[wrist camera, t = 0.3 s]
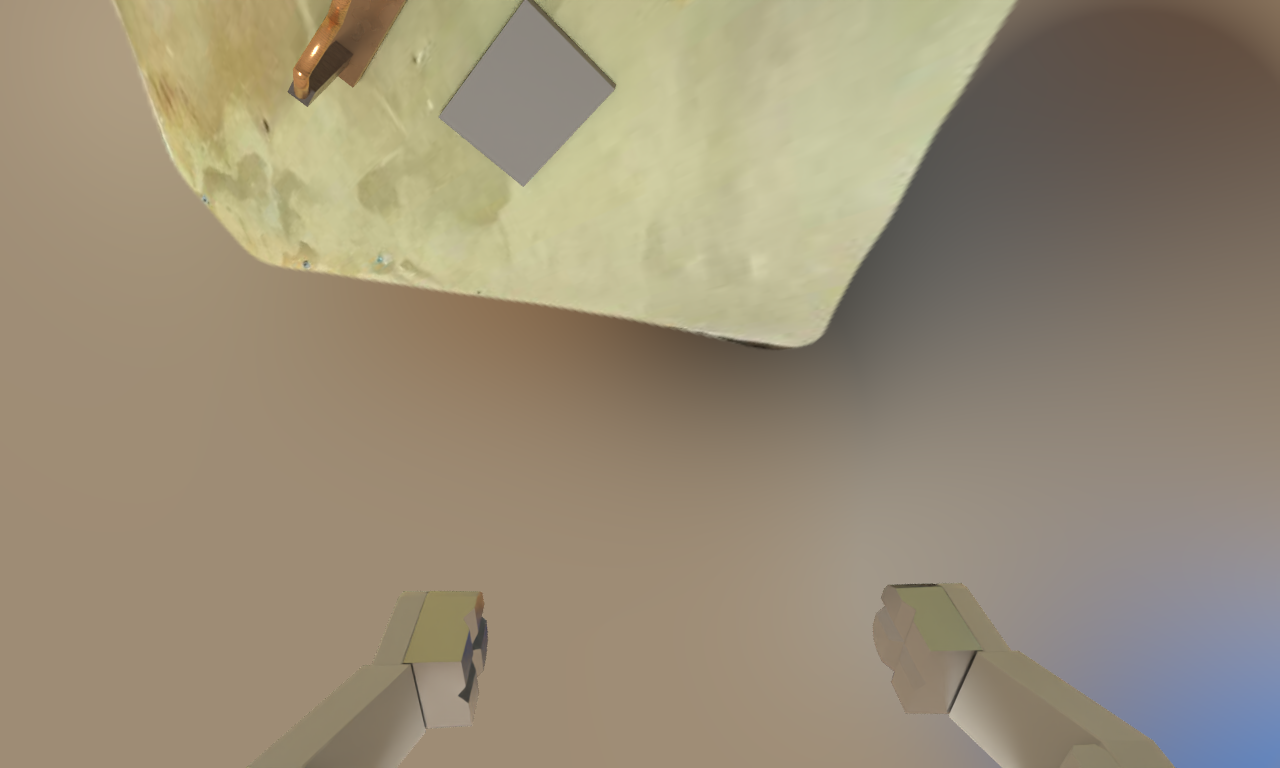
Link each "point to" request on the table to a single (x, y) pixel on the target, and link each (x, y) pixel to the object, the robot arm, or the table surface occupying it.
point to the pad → (527, 94)
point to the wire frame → (343, 45)
